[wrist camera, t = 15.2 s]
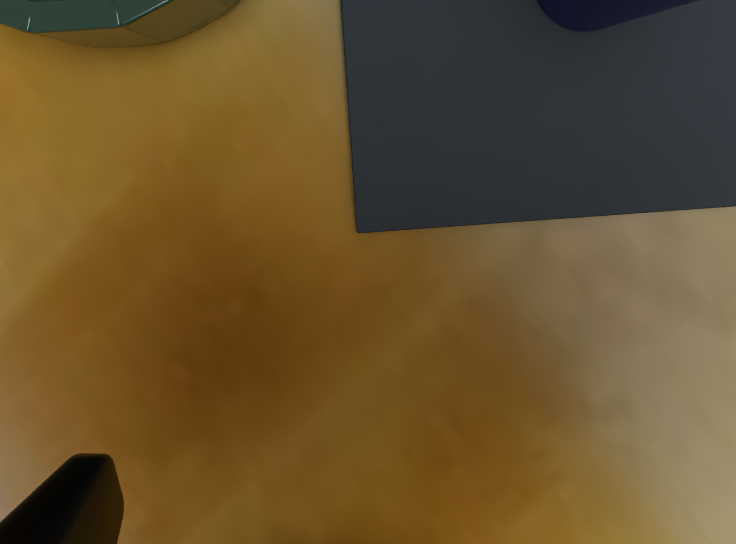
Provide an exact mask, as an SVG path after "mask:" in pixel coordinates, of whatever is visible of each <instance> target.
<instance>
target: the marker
mask: <svg viewBox="0 0 736 544" xmlns="http://www.w3.org/2000/svg"><path fill="white" fill-rule="evenodd" d="M537 1H538V3H539V5H540V7H541V8H542V9H543V11H544V12H545V13H546V15H547V16H548V17H549V18H550V19H552V20H553V21H554V22H555V23H557V24H558V25H560V26H562V27H564V28H566V29H569V30H573V31H579V32H590V31H597V30H600V29H603V28H607V27H610V26H614V25H617V24H620V23H624V22H627V21H631V20H634V19H637V18H641V17H644V16H648V15H651V14H654V13H658V12H661V11H665V10H668V9H671V8H675V7H678V6H682V5H685V4H688V3H692V2H695V1H699V0H537Z"/></svg>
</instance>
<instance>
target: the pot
mask: <svg viewBox="0 0 736 544" xmlns="http://www.w3.org/2000/svg"><path fill="white" fill-rule="evenodd" d="M238 1H239V0H0V24H3V25H6V26H9V27H12V28H15V29H18V30H21V31H24V32H27V33H30V34H35V35H39V36H43V37H48V38H52V39H56V40H61V41H65V42H69V43H74V44H78V45H82V46H86V47H104V46H107V47H136V46H143V45H151V44H158V43H162V42H166V41H169V40H172V39H175V38H179V37H182V36H184V35H186V34H188V33H191V32H193V31H195V30H198V29H200V28H202V27H204V26H205V25H207V24H208V23H210V22H212V21H213V20H215V19H216V18H218V17H220V16H221V15H223V14H224V13H225V12H226V11H227V10H229V9H230V8H231V7H232V6H233V5H235V4H236V3H237V2H238Z"/></svg>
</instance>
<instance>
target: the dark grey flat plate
mask: <svg viewBox="0 0 736 544" xmlns="http://www.w3.org/2000/svg"><path fill="white" fill-rule="evenodd" d="M341 11H342V25H343V40H344V54H345V68H346V82H347V97H348V111H349V125H350V139H351V153H352V168H353V182H354V196H355V210H356V225H357V232H358V233H368V232H382V231H396V230H410V229H424V228H438V227H452V226H466V225H480V224H494V223H508V222H522V221H536V220H550V219H564V218H578V217H592V216H606V215H620V214H634V213H648V212H662V211H676V210H690V209H704V208H718V207H732V206H736V0H699V1H695V2H692V3H688V4H685V5H682V6H678V7H675V8H671V9H668V10H665V11H661V12H658V13H654V14H651V15H648V16H644V17H641V18H637V19H634V20H631V21H627V22H624V23H620V24H617V25H614V26H610V27H607V28H603V29H600V30H597V31H590V32H579V31H573V30H569V29H566V28H564V27H562V26H560V25H558V24H557V23H555V22H554V21H553V20H552V19H550V18H549V17H548V16H547V15H546V13H545V12H544V11H543V9H542V8H541V7H540V5H539V3H538V1H537V0H341Z"/></svg>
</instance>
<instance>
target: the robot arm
mask: <svg viewBox="0 0 736 544" xmlns="http://www.w3.org/2000/svg"><path fill="white" fill-rule="evenodd" d="M123 512H124V499H123V494H122V491H121V487H120V483H119V480H118V476H117V472H116V468H115V465H114V462H113V459H112V458H111V457H110V456H109V455H107V454H90V453H81V454H76V455H74V456H72V457H70V458H69V459H68V460H67V461H66V462H65V463H64V464H62V465H61V466H60V467H59V468H58V469H57V470H56V471H55V472H54V473H53V474H52V475H51V476H50V477H48V478H47V479H46V480H45V481H44V482H43V483H42V484H41V485H40V486H39V487H38V488H37V489H36V490H34V491H33V492H32V493H31V494H30V495H29V496H28V497H27V498H26V499H25V500H24V501H23V502H22V503H20V504H19V505H18V506H17V507H16V508H15V509H14V510H13V511H12V512H11V513H10V514H9V515H8V516H6V517H5V518H4V519H3V520H2V521H1V522H0V544H117V542H118V537H119V533H120V528H121V523H122V519H123Z"/></svg>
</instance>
